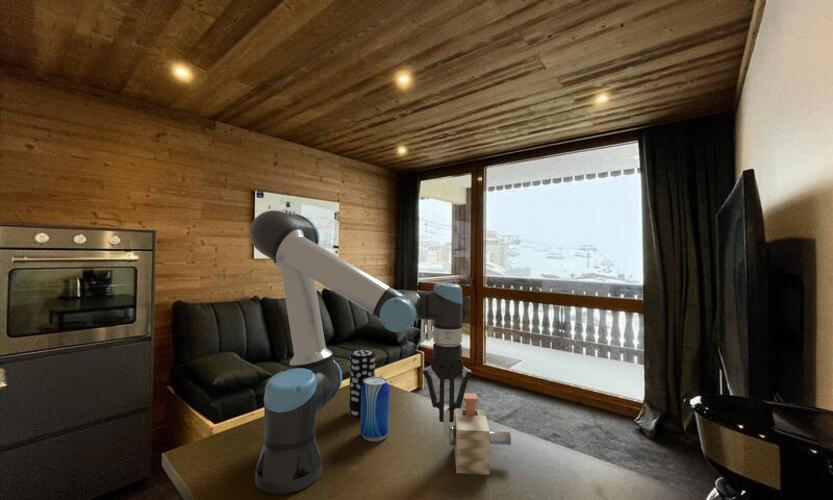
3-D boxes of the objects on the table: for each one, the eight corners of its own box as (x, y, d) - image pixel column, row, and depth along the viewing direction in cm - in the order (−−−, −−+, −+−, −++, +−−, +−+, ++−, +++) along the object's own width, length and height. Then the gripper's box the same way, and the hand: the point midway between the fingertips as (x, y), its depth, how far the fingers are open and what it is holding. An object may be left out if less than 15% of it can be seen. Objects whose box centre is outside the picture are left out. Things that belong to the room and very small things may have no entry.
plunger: (463, 427, 95) (463, 398, 95) (462, 421, 99) (463, 393, 99) (477, 428, 95) (477, 398, 95) (475, 422, 98) (476, 393, 99)
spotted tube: (347, 409, 122) (348, 350, 122) (371, 406, 124) (372, 348, 125) (350, 420, 114) (351, 357, 114) (376, 417, 116) (377, 355, 117)
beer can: (384, 444, 100) (385, 386, 100) (356, 441, 101) (356, 384, 102) (392, 430, 108) (393, 376, 108) (366, 427, 110) (366, 374, 110)
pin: (449, 449, 91) (449, 430, 91) (448, 439, 96) (448, 422, 96) (511, 452, 90) (511, 433, 90) (508, 442, 95) (508, 425, 95)
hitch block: (456, 473, 87) (456, 429, 87) (454, 446, 99) (454, 408, 99) (489, 474, 87) (489, 431, 87) (483, 448, 99) (484, 409, 99)
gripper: (421, 346, 90) (420, 440, 90) (473, 347, 89) (472, 442, 89) (423, 339, 98) (422, 425, 98) (471, 340, 97) (470, 428, 97)
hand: (446, 433), depth 93 cm, fingers closed
